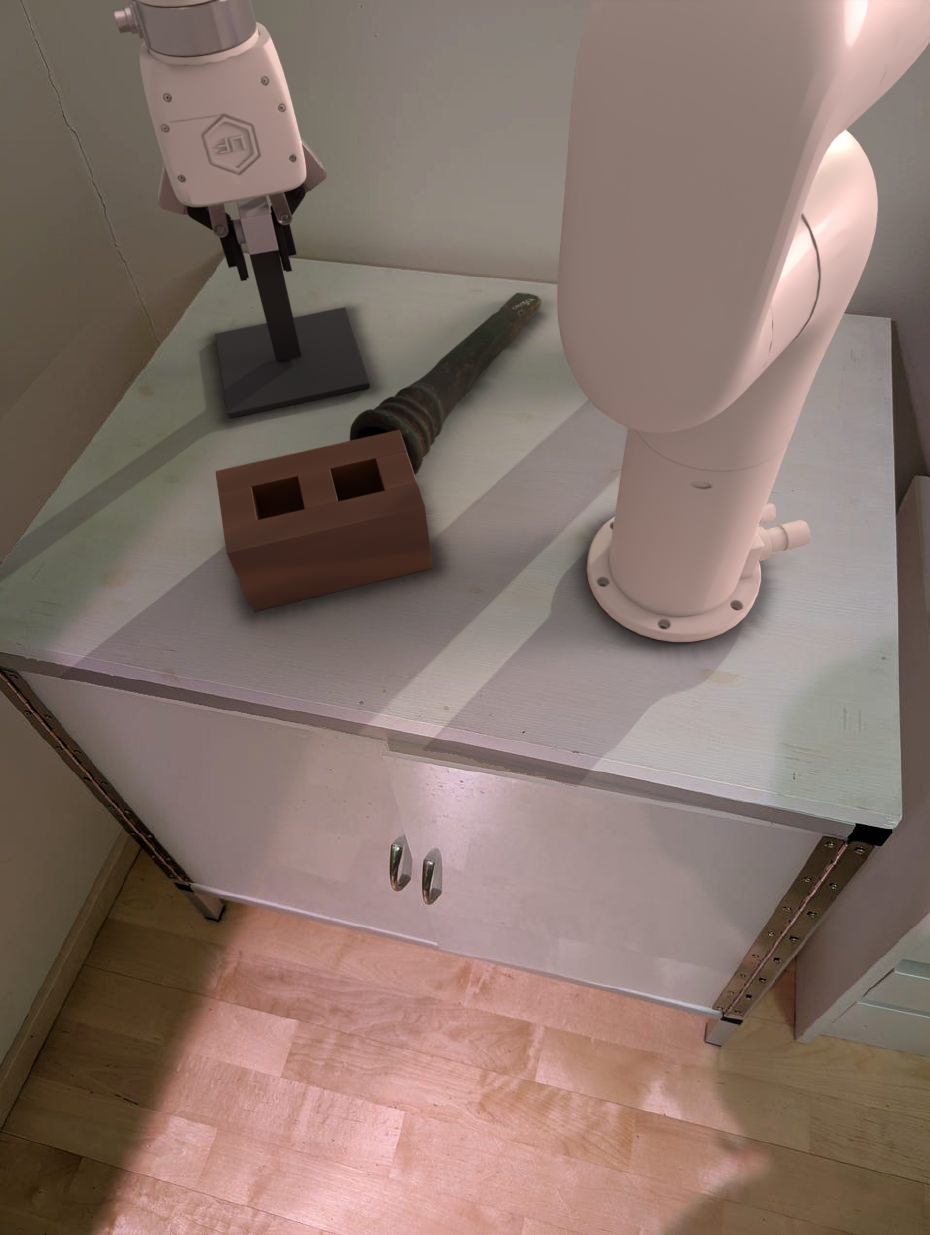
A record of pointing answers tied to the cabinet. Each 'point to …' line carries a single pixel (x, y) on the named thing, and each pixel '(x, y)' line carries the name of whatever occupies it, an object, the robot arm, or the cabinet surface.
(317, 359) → the mat
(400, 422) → the tool
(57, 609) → the cabinet surface
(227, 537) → the holder
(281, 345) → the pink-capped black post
